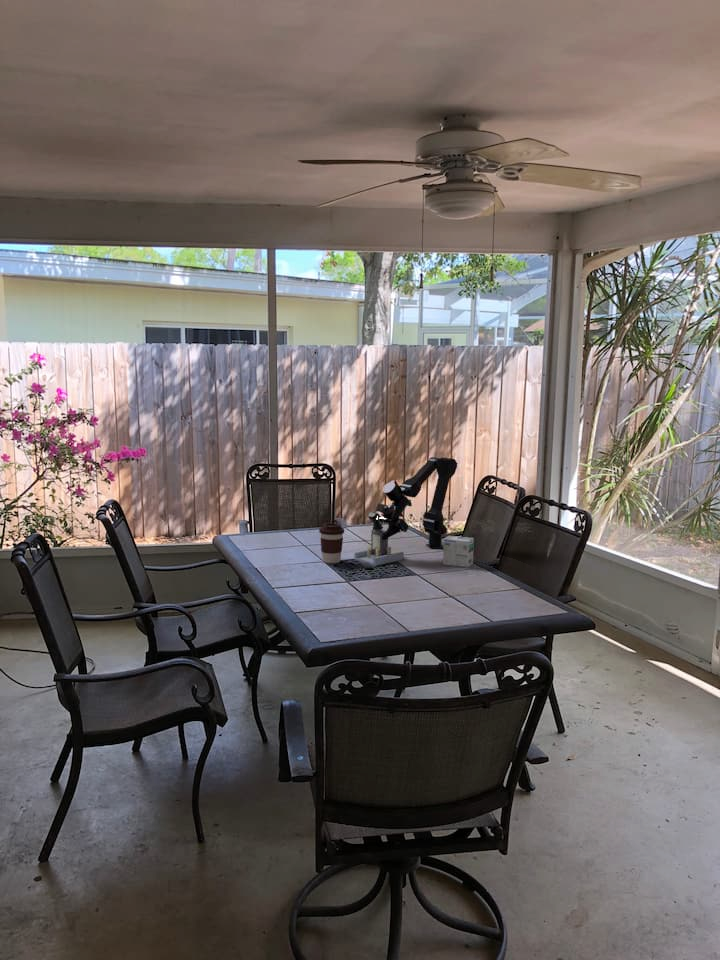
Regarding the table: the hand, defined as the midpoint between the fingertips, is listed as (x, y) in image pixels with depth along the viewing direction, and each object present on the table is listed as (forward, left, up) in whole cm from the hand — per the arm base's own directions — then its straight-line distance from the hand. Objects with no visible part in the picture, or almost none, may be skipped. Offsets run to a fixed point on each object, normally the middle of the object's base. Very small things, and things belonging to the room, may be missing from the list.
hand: (377, 538), depth 305 cm
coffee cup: (-1, -18, -9) cm, 21 cm away
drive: (-1, +1, -7) cm, 7 cm away
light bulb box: (+11, +31, -9) cm, 34 cm away
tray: (-1, +1, -9) cm, 9 cm away
